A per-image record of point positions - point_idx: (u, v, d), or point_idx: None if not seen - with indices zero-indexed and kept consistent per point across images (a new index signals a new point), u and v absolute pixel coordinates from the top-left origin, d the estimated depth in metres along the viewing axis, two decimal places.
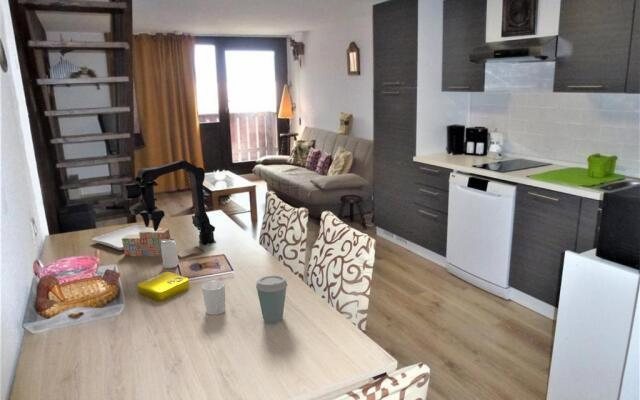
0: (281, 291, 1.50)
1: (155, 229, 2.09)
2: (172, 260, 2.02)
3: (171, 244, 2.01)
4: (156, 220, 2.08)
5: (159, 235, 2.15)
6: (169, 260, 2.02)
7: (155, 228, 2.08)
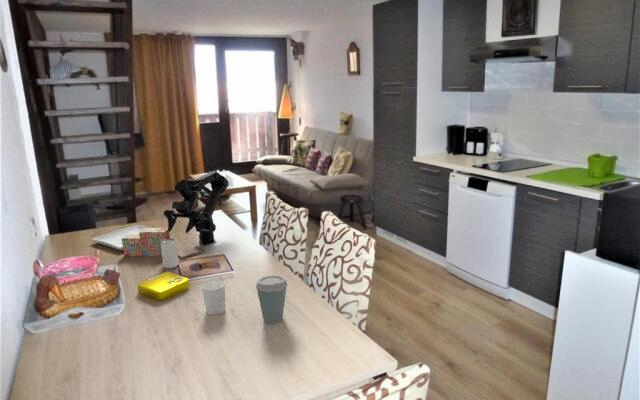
0: (281, 291, 1.50)
1: (187, 231, 2.08)
2: (172, 260, 2.02)
3: (171, 244, 2.01)
4: (192, 223, 2.10)
5: (159, 235, 2.16)
6: (169, 260, 2.02)
7: (188, 230, 2.08)
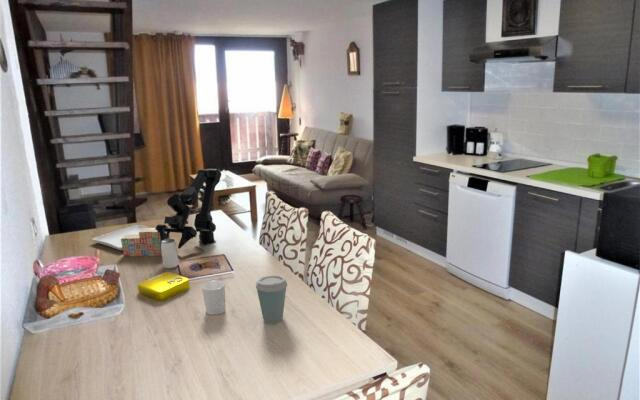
0: (281, 291, 1.50)
1: (179, 246, 2.03)
2: (172, 260, 2.02)
3: (171, 244, 2.01)
4: (185, 238, 2.05)
5: (159, 234, 2.16)
6: (169, 260, 2.02)
7: (180, 245, 2.03)
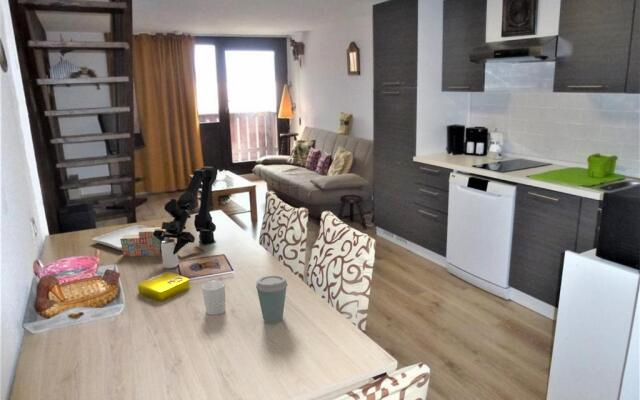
0: (281, 291, 1.50)
1: (175, 252, 2.02)
2: (172, 260, 2.02)
3: (171, 244, 2.01)
4: (180, 244, 2.04)
5: None
6: (169, 260, 2.02)
7: (175, 251, 2.02)
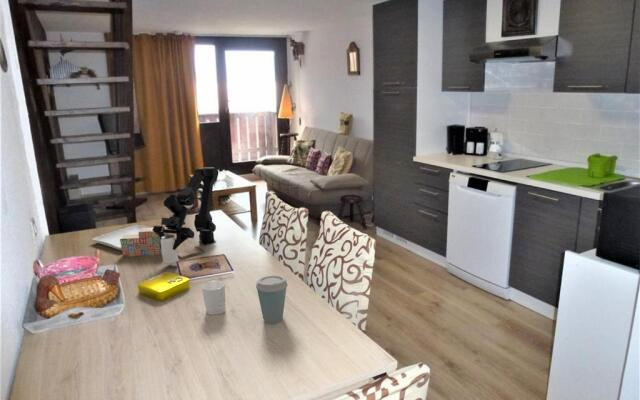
0: (281, 291, 1.50)
1: (174, 247, 2.02)
2: (172, 256, 2.02)
3: (171, 240, 2.01)
4: (180, 239, 2.04)
5: None
6: (168, 256, 2.01)
7: (175, 246, 2.02)
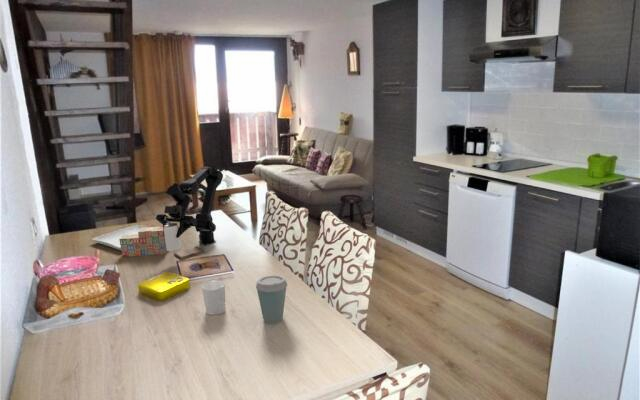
0: (281, 291, 1.50)
1: (178, 235, 2.03)
2: (175, 244, 2.04)
3: (174, 228, 2.02)
4: (183, 227, 2.06)
5: (159, 233, 2.18)
6: (172, 243, 2.03)
7: (178, 234, 2.04)
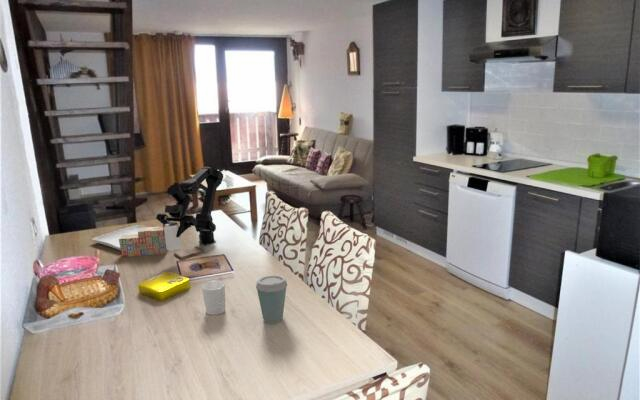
0: (281, 291, 1.50)
1: (178, 235, 2.04)
2: (175, 243, 2.04)
3: (174, 227, 2.03)
4: (183, 227, 2.06)
5: (159, 233, 2.18)
6: (172, 243, 2.03)
7: (178, 234, 2.04)
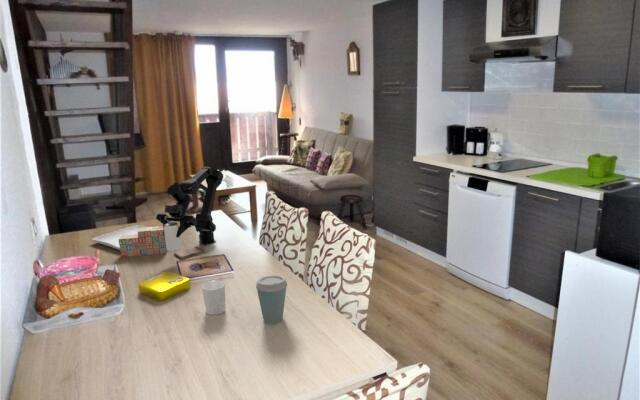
0: (281, 291, 1.50)
1: (178, 235, 2.04)
2: (175, 243, 2.04)
3: (174, 227, 2.03)
4: (183, 227, 2.06)
5: (159, 233, 2.19)
6: (172, 243, 2.03)
7: (178, 234, 2.04)
